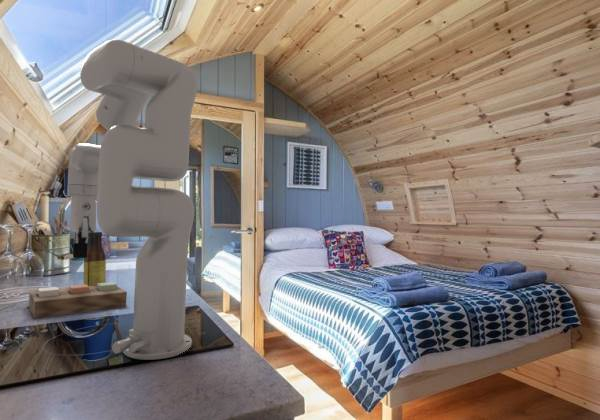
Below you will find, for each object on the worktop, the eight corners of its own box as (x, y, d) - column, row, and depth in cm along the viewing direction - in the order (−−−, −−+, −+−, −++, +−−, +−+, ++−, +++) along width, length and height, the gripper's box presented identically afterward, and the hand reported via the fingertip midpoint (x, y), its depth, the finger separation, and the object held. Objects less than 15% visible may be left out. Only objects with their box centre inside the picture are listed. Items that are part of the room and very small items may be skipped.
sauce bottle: (109, 291, 120) (112, 231, 120) (97, 295, 113) (99, 232, 114) (91, 290, 120) (93, 230, 121) (77, 294, 114) (80, 231, 114)
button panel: (112, 296, 112) (113, 283, 112) (126, 306, 102) (126, 291, 102) (28, 306, 98) (29, 291, 98) (34, 318, 88) (35, 301, 88)
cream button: (56, 297, 98) (56, 286, 98) (58, 300, 95) (59, 289, 95) (37, 299, 96) (38, 288, 96) (39, 302, 93) (40, 291, 93)
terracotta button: (85, 294, 103) (86, 284, 103) (88, 297, 100) (89, 286, 100) (68, 296, 100) (68, 285, 100) (71, 299, 97) (71, 288, 97)
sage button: (112, 292, 108) (112, 282, 108) (116, 294, 105) (116, 284, 105) (96, 293, 105) (97, 283, 105) (100, 296, 102) (100, 285, 102)
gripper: (104, 192, 98) (101, 260, 98) (92, 193, 109) (89, 253, 109) (72, 190, 93) (68, 262, 93) (62, 191, 104) (59, 254, 104)
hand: (79, 257), depth 101 cm, fingers closed
